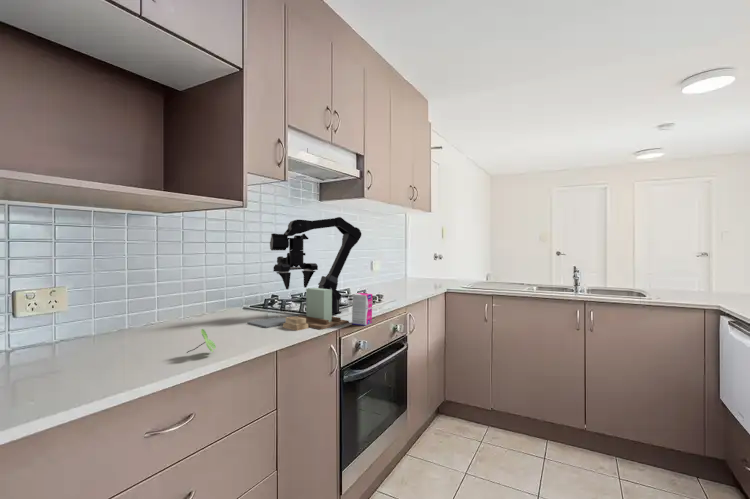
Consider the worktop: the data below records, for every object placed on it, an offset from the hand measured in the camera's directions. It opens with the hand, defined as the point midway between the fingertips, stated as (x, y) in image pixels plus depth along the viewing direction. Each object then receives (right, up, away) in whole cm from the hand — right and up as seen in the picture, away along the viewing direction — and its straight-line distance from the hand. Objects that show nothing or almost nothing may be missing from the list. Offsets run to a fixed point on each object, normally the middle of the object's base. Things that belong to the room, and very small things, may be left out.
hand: (296, 288), depth 157 cm
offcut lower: (+4, -13, -20) cm, 24 cm away
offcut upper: (+4, -11, -20) cm, 23 cm away
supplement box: (+27, -12, -14) cm, 33 cm away
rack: (+11, -12, -12) cm, 20 cm away
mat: (-7, -12, -11) cm, 18 cm away
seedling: (-19, -13, -53) cm, 58 cm away
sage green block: (+11, -11, -12) cm, 20 cm away
